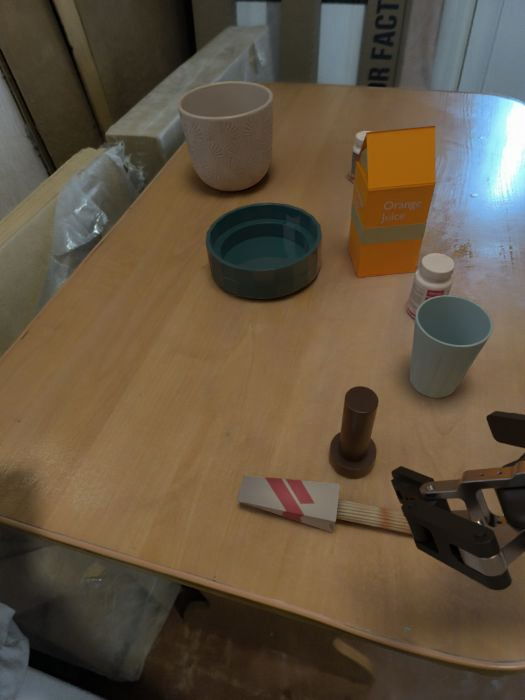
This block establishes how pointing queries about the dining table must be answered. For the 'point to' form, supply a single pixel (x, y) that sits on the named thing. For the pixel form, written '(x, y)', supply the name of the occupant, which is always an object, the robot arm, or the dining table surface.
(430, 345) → the cup
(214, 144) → the planter
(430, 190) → the orange juice
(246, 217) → the bowl
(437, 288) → the pill bottle
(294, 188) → the dining table surface
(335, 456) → the grey brown flanged cylinder
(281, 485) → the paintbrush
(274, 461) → the dining table surface
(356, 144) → the pill bottle
